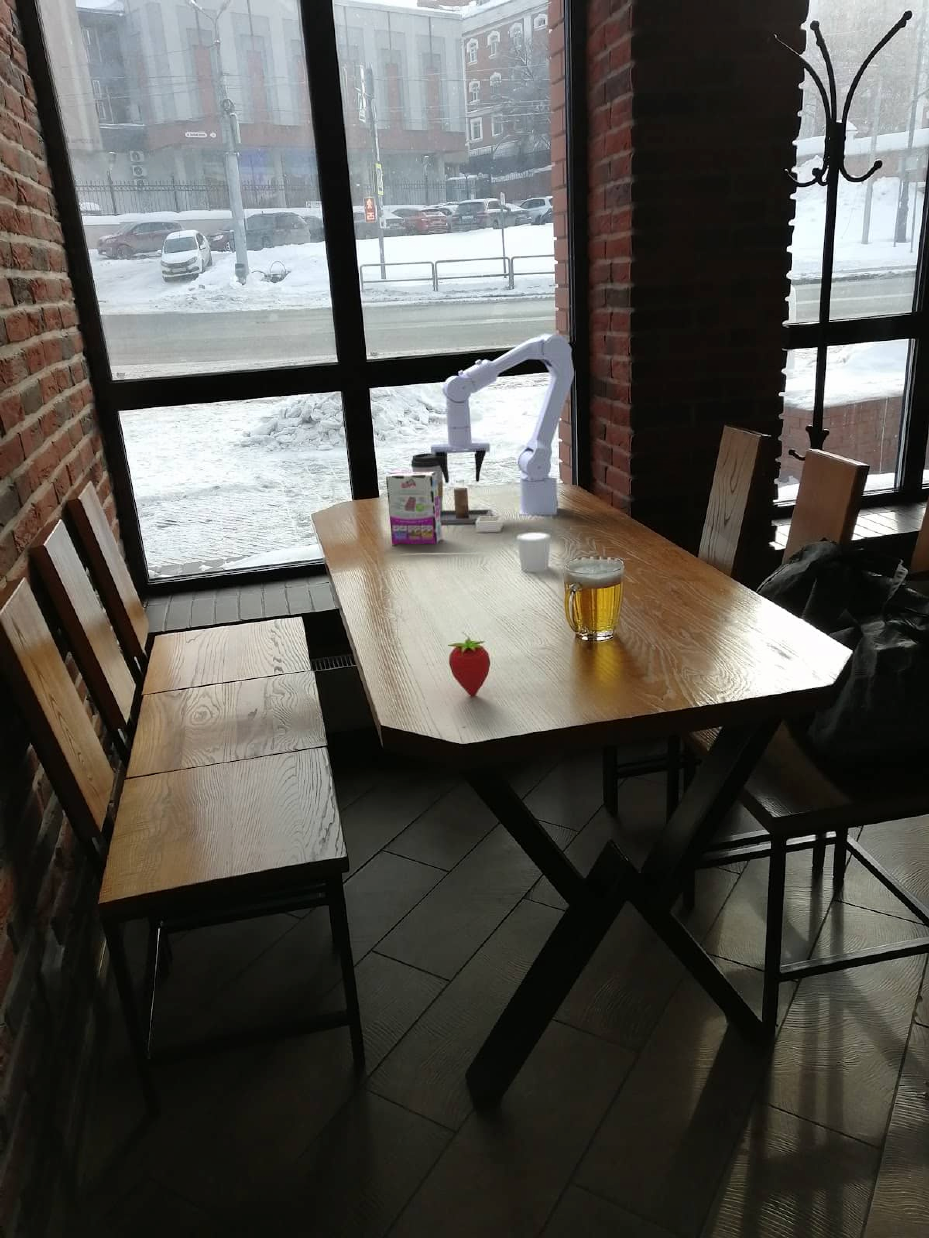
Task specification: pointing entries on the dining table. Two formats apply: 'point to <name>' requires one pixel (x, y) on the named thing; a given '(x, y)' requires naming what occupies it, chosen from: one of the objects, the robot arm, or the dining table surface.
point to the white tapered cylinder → (534, 551)
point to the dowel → (461, 503)
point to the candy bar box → (414, 507)
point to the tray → (450, 518)
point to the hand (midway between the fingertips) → (462, 481)
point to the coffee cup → (429, 469)
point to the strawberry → (469, 665)
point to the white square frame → (489, 524)
